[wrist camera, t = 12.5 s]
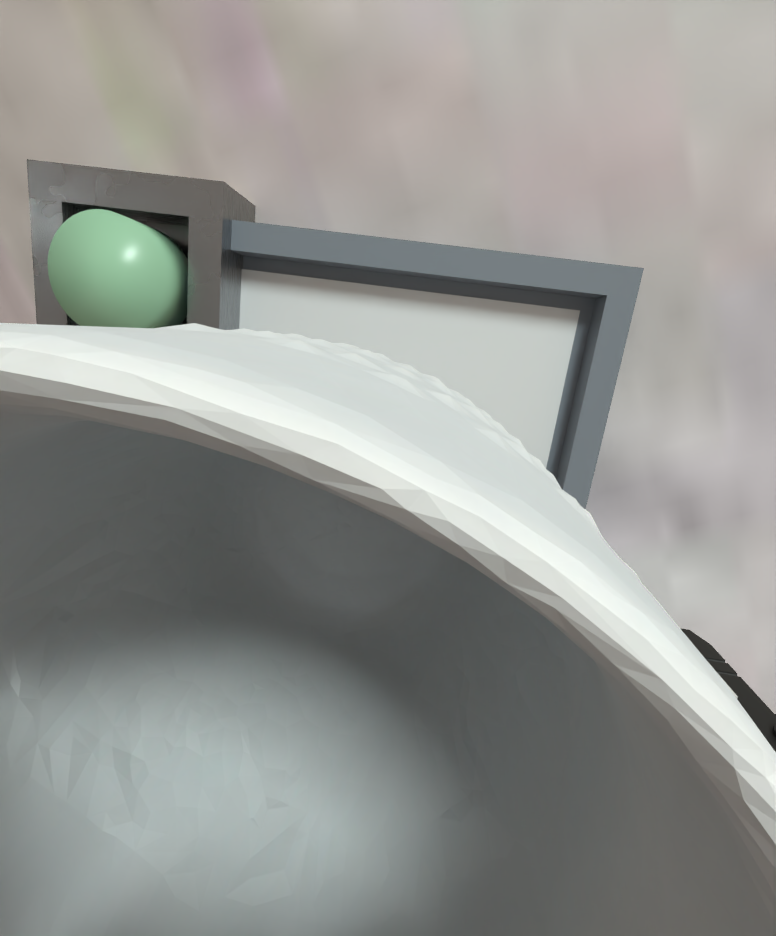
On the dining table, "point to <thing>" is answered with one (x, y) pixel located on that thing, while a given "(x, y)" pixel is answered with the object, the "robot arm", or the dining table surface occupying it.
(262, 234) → the tray
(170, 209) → the grey square frame
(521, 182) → the dining table surface
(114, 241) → the button
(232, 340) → the mug
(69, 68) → the dining table surface
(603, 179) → the dining table surface
